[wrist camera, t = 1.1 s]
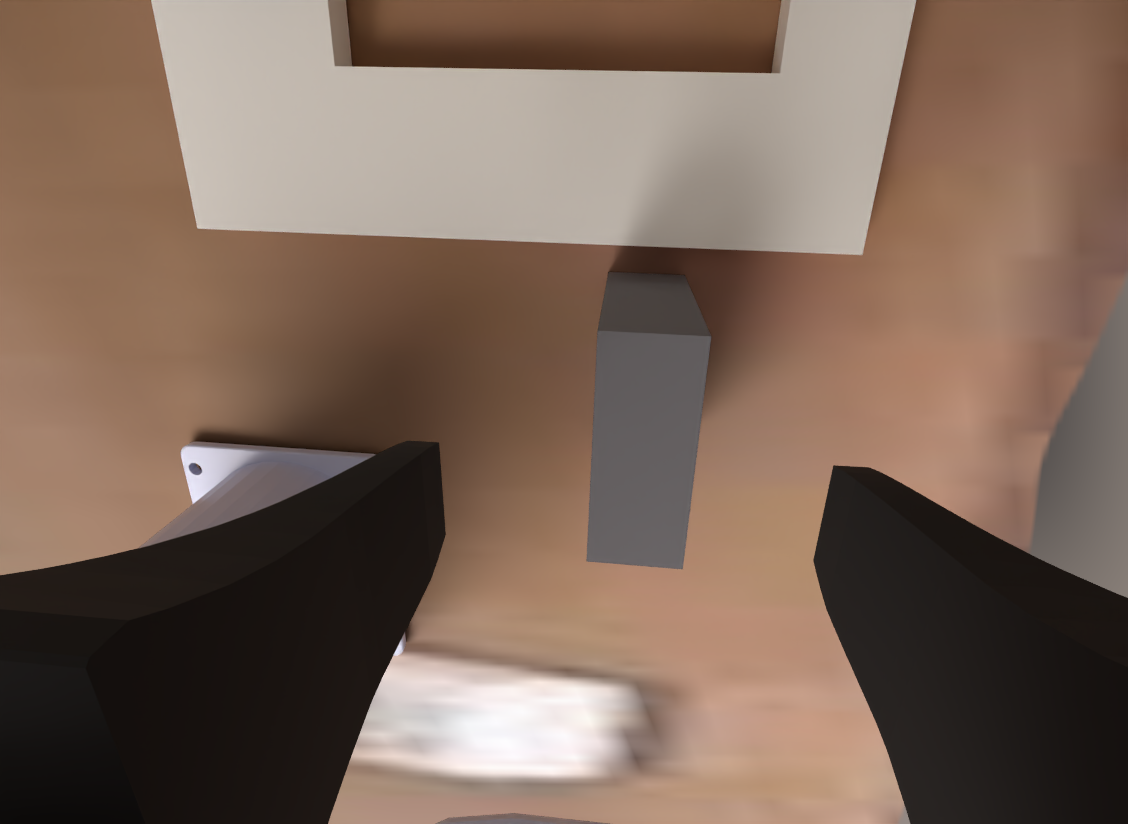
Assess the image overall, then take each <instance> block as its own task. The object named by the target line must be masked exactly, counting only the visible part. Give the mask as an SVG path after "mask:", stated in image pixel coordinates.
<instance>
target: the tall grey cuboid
mask: <svg viewBox="0 0 1128 824" xmlns="http://www.w3.org/2000/svg"><path fill="white" fill-rule="evenodd" d="M710 343H711V335H710V332H709V330H708V328H707V325H706V323H705V321H704V318H703V316H702V314H701V312H700V309H699V307H698V305H697V302H696V300H695V298H694V295H693V293H692V291H691V288H690V286H689V284H688V281H687V279H686V277H685V275H671V274H648V273H624V272H608V278H607V283H606V288H605V294H604V299H603V304H602V310H601V315H600V321H599V326H598V333H597V354H596V375H595V396H594V417H593V438H592V459H591V480H590V501H589V522H588V543H587V561H588V562H601V563H613V564H625V565H637V566H649V567H661V568H674V569H683V562H684V554H685V546H686V538H687V530H688V522H689V513H690V505H691V497H692V489H693V481H694V473H695V465H696V457H697V449H698V440H699V432H700V424H701V416H702V408H703V400H704V392H705V384H706V375H707V367H708V359H709V351H710Z"/></svg>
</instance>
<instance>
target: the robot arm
mask: <svg viewBox="0 0 1128 824" xmlns="http://www.w3.org/2000/svg"><path fill="white" fill-rule="evenodd" d="M181 458H182V462H183V466H184V470H185V474H186V478H187V482H188V486H189V490H190V494H191V499H192V503H193V504H192V505H191V506H190V507H189V508H187V509H186V510H185V511H184V512H182V513H181V514H180V515H179V516H177V517H176V518H175V519H174V520H173V521H171V522H170V523H169V524H168V525H166V526H165V527H164V528H163V529H161V530H160V531H159V532H158V533H156V534H155V535H154V536H153V537H151V538H150V539H149V540H148V541H146V542H145V543H144V544H143V545H141V546H140V547H139V548H138V549H134V550H129V551H125V552H121V553H117V554H113V555H108V556H104V557H99V558H94V559H90V560H85V561H80V562H75V563H71V564H65V565H60V566H55V567H49V568H44V569H38V570H32V571H25V572H19V573H12V574H6V575H0V824H328V822H329V819H330V816H331V813H332V810H333V807H334V804H335V801H336V798H337V795H338V793H339V790H340V787H341V784H342V781H343V778H344V775H345V772H346V770H347V767H348V764H349V761H350V758H351V755H352V753H353V750H354V747H355V745H356V742H357V739H358V736H359V734H360V731H361V728H362V726H363V723H364V720H365V718H366V715H367V712H368V710H369V707H370V704H371V702H372V699H373V697H374V695H375V693H376V690H377V688H378V686H379V684H380V681H381V679H382V677H383V675H384V673H385V671H386V669H387V667H388V665H389V663H390V661H391V659H392V657H393V656H394V655H399V654H401V653H402V652H403V650H404V648H405V645H406V638H405V631H406V629H407V627H408V625H409V623H410V621H411V619H412V617H413V615H414V613H415V611H416V609H417V607H418V605H419V603H420V601H421V599H422V597H423V595H424V593H425V591H426V589H427V586H428V584H429V582H430V580H431V578H432V575H433V572H434V569H435V566H436V563H437V560H438V557H439V554H440V551H441V548H442V544H443V541H444V538H445V535H446V533H445V519H444V505H443V491H442V477H441V464H440V450H439V443H438V442H421V441H405V442H403V443H400V444H397V445H395V446H393V447H391V448H389V449H387V450H384V451H382V452H380V453H378V454H368V453H354V452H339V451H325V450H311V449H296V448H282V447H268V446H253V445H239V444H225V443H210V442H191V443H189V444H187V445H186V446H184V447H183V448H182V450H181ZM195 463H196V464H198V465H199V466H200V467H201V469H202V470H201V469H199V468H198V467H197V466H196V464H195ZM813 561H814V565H815V569H816V573H817V577H818V581H819V585H820V588H821V592H822V595H823V599H824V602H825V606H826V609H827V611H828V614H829V616H830V619H831V621H832V623H833V626H834V628H835V630H836V633H837V635H838V637H839V640H840V642H841V644H842V647H843V649H844V651H845V653H846V656H847V658H848V660H849V662H850V665H851V667H852V669H853V671H854V674H855V676H856V678H857V680H858V683H859V685H860V687H861V689H862V692H863V694H864V696H865V698H866V701H867V703H868V705H869V707H870V710H871V712H872V714H873V717H874V719H875V721H876V723H877V726H878V728H879V731H880V733H881V736H882V739H883V741H884V744H885V746H886V749H887V752H888V754H889V758H890V761H891V764H892V767H893V770H894V773H895V776H896V779H897V782H898V786H899V789H900V792H901V795H902V798H903V801H904V804H905V807H906V810H907V813H908V817H909V820H910V823H911V824H1128V598H1126V597H1124V596H1121V595H1119V594H1116V593H1114V592H1112V591H1109V590H1107V589H1105V588H1102V587H1100V586H1098V585H1096V584H1093V583H1091V582H1089V581H1087V580H1084V579H1082V578H1080V577H1077V576H1075V575H1073V574H1071V573H1068V572H1066V571H1063V570H1062V569H1059V568H1057V567H1055V566H1053V565H1051V564H1049V563H1046V562H1045V561H1042V560H1040V559H1038V558H1036V557H1034V556H1032V555H1030V554H1028V553H1026V552H1025V551H1023V550H1021V549H1019V548H1017V547H1015V546H1013V545H1011V544H1009V543H1007V542H1005V541H1003V540H1001V539H999V538H997V537H995V536H994V535H992V534H990V533H988V532H986V531H984V530H983V529H981V528H979V527H977V526H975V525H973V524H972V523H970V522H968V521H966V520H965V519H963V518H961V517H959V516H958V515H956V514H954V513H952V512H951V511H949V510H947V509H945V508H944V507H942V506H940V505H938V504H937V503H935V502H933V501H931V500H930V499H928V498H926V497H925V496H923V495H921V494H919V493H918V492H916V491H914V490H912V489H911V488H909V487H907V486H905V485H904V484H902V483H900V482H898V481H896V480H894V479H893V478H891V477H889V476H887V475H885V474H883V473H881V472H879V471H876V470H874V469H872V468H868V467H850V466H833V470H832V475H831V480H830V484H829V489H828V494H827V499H826V503H825V508H824V513H823V518H822V522H821V527H820V532H819V537H818V541H817V546H816V551H815V556H814V560H813ZM436 824H608V823H599V822H590V821H581V820H572V819H563V818H554V817H544V816H535V815H526V814H517V813H510V814H496V815H482V816H467V817H453V818H447V819H445V820H443V821H441V822H438V823H436Z"/></svg>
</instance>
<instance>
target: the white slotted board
mask: <svg viewBox="0 0 1128 824" xmlns="http://www.w3.org/2000/svg"><path fill="white" fill-rule="evenodd" d="M151 2H152V7H153V12H154V17H155V21H156V26H157V31H158V36H159V41H160V46H161V51H162V56H163V61H164V66H165V71H166V76H167V81H168V86H169V90H170V95H171V100H172V105H173V110H174V115H175V120H176V125H177V130H178V135H179V140H180V145H181V150H182V155H183V160H184V164H185V169H186V174H187V179H188V184H189V189H190V194H191V199H192V204H193V209H194V214H195V219H196V224H197V229H219V230H244V231H270V232H295V233H320V234H345V235H371V236H396V237H421V238H446V239H472V240H497V241H522V242H548V243H573V244H598V245H623V246H649V247H674V248H699V249H724V250H750V251H775V252H800V253H826V254H851V255H862V254H863V250H864V245H865V240H866V235H867V231H868V226H869V221H870V216H871V212H872V207H873V202H874V198H875V193H876V188H877V183H878V179H879V174H880V169H881V165H882V160H883V155H884V150H885V146H886V141H887V136H888V132H889V127H890V122H891V117H892V113H893V108H894V103H895V98H896V94H897V89H898V84H899V80H900V75H901V70H902V65H903V61H904V56H905V51H906V47H907V42H908V37H909V32H910V28H911V23H912V18H913V13H914V9H915V4H916V0H781V7H780V14H779V22H778V29H777V36H776V43H775V50H774V58H773V65H772V72H771V73H720V72H659V71H597V70H535V69H474V68H412V67H352V59H351V48H350V38H349V28H348V17H347V7H346V0H151Z"/></svg>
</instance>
